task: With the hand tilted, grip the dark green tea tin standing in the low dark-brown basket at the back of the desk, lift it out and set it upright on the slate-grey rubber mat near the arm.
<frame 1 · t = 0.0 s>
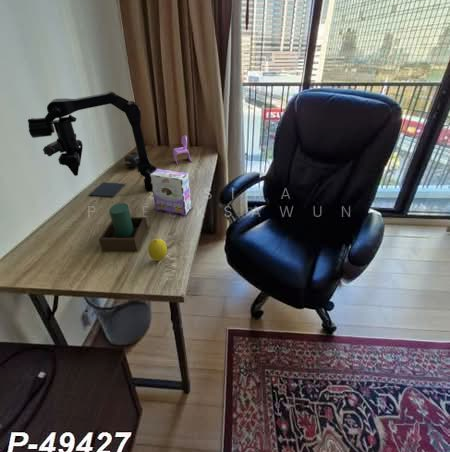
hand: (77, 170, 102), 15 cm above the table, tool pointing down, fingers open, 9 cm apart
end cap: (136, 165, 140), on the table
candy box: (173, 209, 103), on the table
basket: (126, 238, 87), on the table
mat: (107, 190, 116), on the table
tea tin: (125, 236, 87), point 1 cm above the table, touching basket
toy chair: (182, 161, 144), on the table
lemon: (159, 259, 79), on the table
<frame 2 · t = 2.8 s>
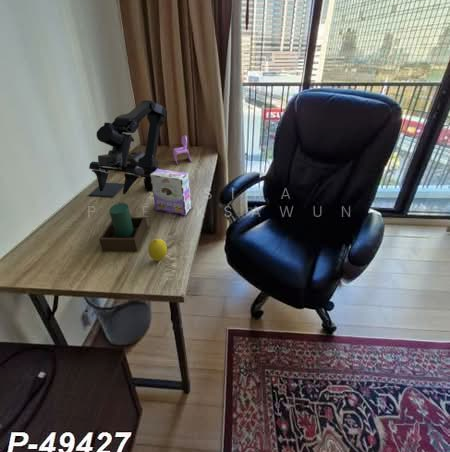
hand: (112, 192, 89), 14 cm above the table, tool tilted 35°, fingers open, 9 cm apart
nothing on the table moved.
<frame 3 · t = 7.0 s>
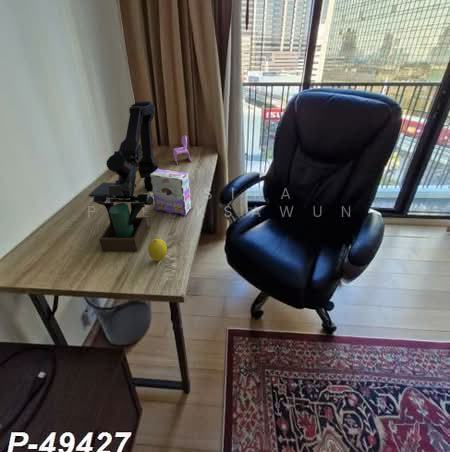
hand: (120, 225, 83), 7 cm above the table, tool tilted 45°, fingers closed on tea tin, 6 cm apart
tea tin: (125, 236, 87), point 1 cm above the table, touching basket, gripper
everything else where it was.
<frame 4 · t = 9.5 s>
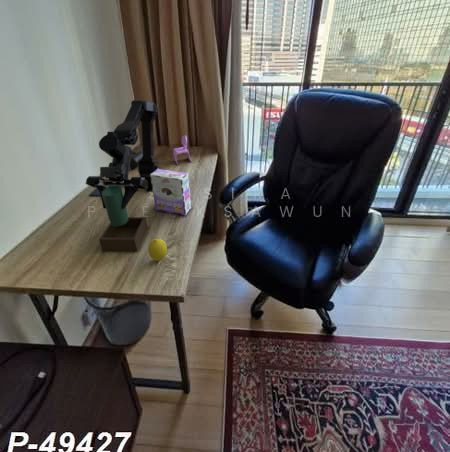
hand: (113, 208, 80), 13 cm above the table, tool tilted 45°, fingers closed on tea tin, 6 cm apart
tea tin: (119, 221, 84), point 7 cm above the table, touching gripper
everything else where it was.
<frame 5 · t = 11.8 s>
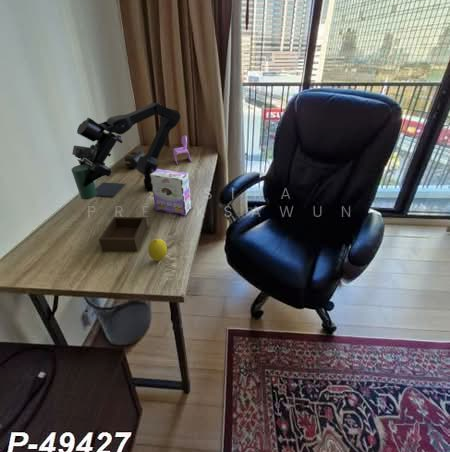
hand: (81, 183, 93), 14 cm above the table, tool tilted 45°, fingers closed on tea tin, 6 cm apart
tea tin: (89, 195, 97), point 8 cm above the table, touching gripper
everything else where it was.
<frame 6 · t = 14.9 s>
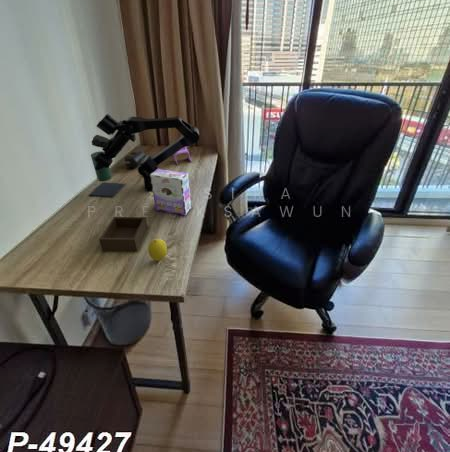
hand: (98, 166, 111), 12 cm above the table, tool tilted 45°, fingers closed on tea tin, 6 cm apart
tea tin: (104, 178, 113), point 6 cm above the table, touching gripper
everything else where it was.
when the fingers open (7 cm above the table, at t = 17.0 s): tea tin stays where it is, resting on mat.
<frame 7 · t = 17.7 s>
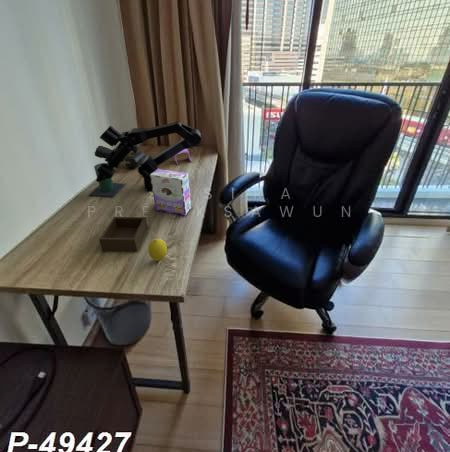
hand: (100, 176, 113), 7 cm above the table, tool tilted 45°, fingers open, 9 cm apart
tea tin: (107, 189, 116), point 1 cm above the table, touching mat
everything else where it was.
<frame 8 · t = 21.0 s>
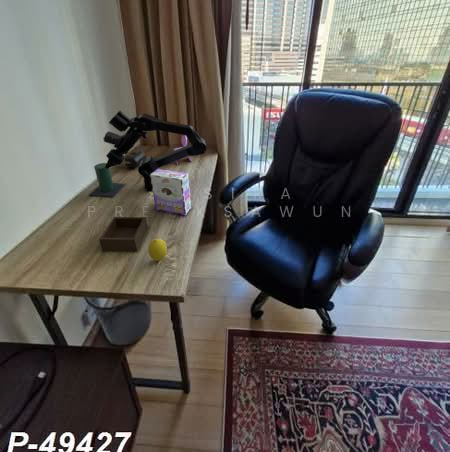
hand: (109, 163, 110), 14 cm above the table, tool tilted 45°, fingers open, 9 cm apart
nothing on the table moved.
at the end: tea tin inside the target area on the mat (0.0 cm from its centre), point 0.6 cm above the mat's base; tea tin tilted 0°; tea tin touching mat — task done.
